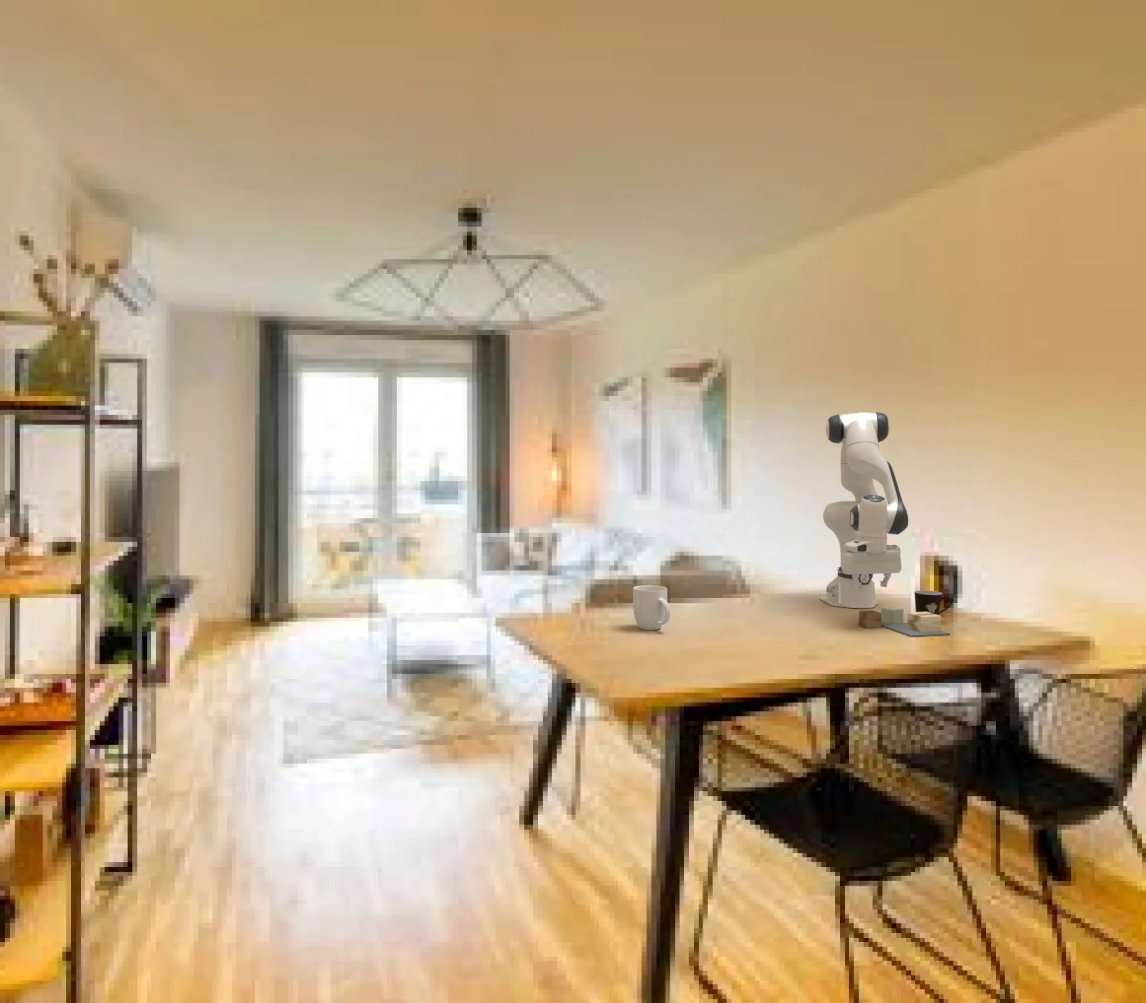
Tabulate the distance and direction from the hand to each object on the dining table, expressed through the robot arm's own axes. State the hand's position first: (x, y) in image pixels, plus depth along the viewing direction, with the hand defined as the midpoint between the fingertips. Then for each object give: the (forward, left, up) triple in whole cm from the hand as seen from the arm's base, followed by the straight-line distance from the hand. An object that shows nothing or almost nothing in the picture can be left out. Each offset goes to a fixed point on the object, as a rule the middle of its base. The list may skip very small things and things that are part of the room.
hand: (871, 587), depth 270 cm
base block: (+10, +13, -12) cm, 21 cm away
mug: (-11, -72, -13) cm, 74 cm away
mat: (+8, +11, -13) cm, 19 cm away
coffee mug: (-2, +25, -13) cm, 28 cm away
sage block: (-4, +11, -13) cm, 18 cm away
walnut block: (0, 0, -13) cm, 13 cm away
